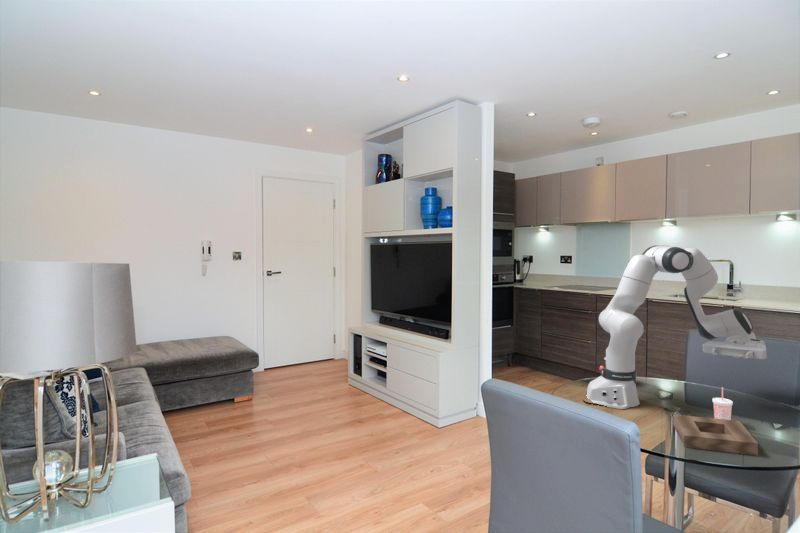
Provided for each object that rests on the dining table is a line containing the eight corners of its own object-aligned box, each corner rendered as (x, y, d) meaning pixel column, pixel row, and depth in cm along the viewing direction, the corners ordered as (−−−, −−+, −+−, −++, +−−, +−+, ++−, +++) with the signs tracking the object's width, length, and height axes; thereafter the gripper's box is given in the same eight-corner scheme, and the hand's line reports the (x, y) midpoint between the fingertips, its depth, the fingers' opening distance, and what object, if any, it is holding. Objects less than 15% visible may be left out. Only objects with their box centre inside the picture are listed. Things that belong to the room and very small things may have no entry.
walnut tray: (684, 446, 146) (684, 435, 146) (673, 424, 163) (673, 414, 163) (758, 455, 139) (758, 443, 139) (739, 431, 155) (739, 420, 155)
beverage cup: (708, 422, 164) (708, 386, 163) (718, 419, 166) (718, 383, 165) (726, 429, 158) (726, 391, 157) (736, 425, 160) (736, 388, 159)
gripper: (706, 336, 185) (697, 343, 176) (769, 341, 170) (762, 350, 161) (707, 350, 186) (698, 359, 177) (769, 357, 171) (763, 366, 161)
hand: (729, 354), depth 169 cm, fingers open, 8 cm apart
